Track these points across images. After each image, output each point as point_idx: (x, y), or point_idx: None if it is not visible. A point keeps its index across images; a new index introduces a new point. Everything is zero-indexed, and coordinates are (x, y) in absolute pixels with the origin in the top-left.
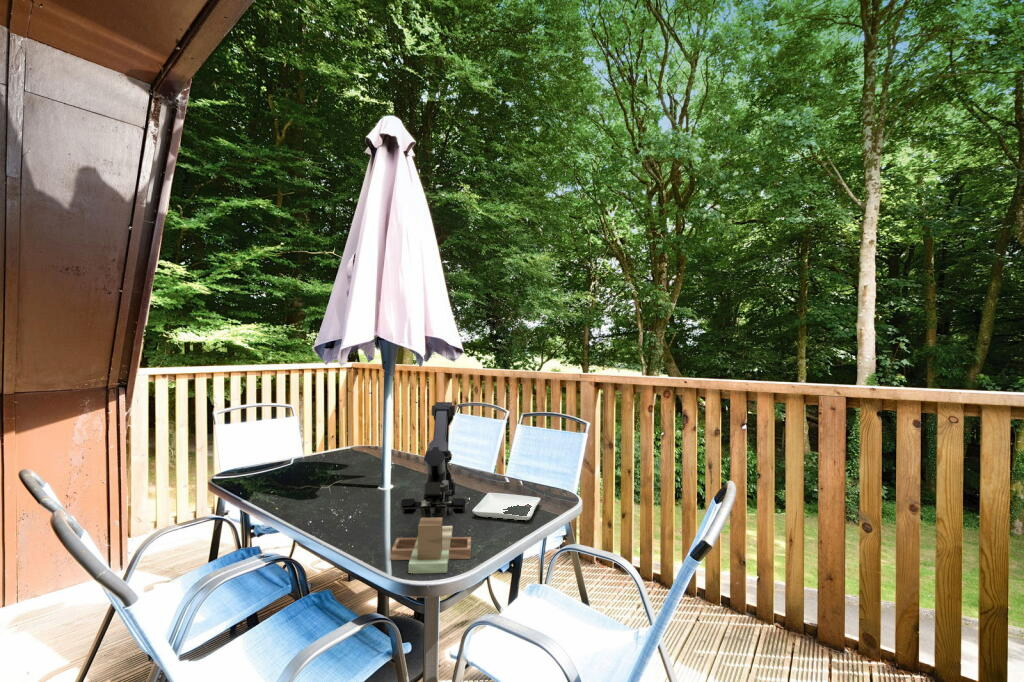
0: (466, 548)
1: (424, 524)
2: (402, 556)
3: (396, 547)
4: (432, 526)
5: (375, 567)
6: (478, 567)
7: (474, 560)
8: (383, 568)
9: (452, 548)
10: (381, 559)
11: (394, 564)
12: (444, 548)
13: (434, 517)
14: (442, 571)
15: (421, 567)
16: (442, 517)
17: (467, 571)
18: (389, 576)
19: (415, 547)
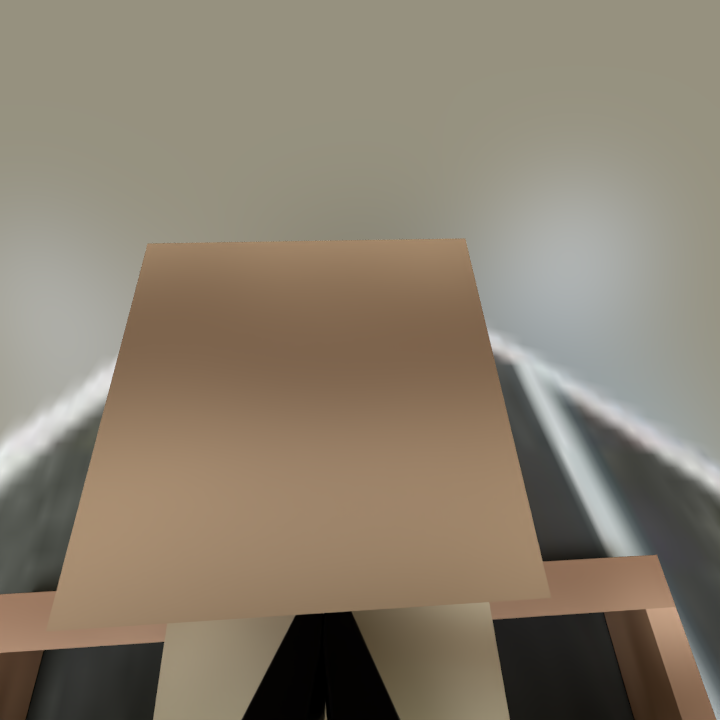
0: (1, 628)
1: (388, 273)
2: (545, 561)
3: (657, 659)
4: (269, 249)
5: (650, 450)
6: (16, 452)
7: (7, 562)
8: (597, 438)
9: (136, 626)
10: (683, 570)
11: (557, 491)
12: (211, 624)
13: (242, 616)
14: None
15: None
16: (48, 623)
17: (100, 402)
18: (521, 353)
19: (482, 645)
